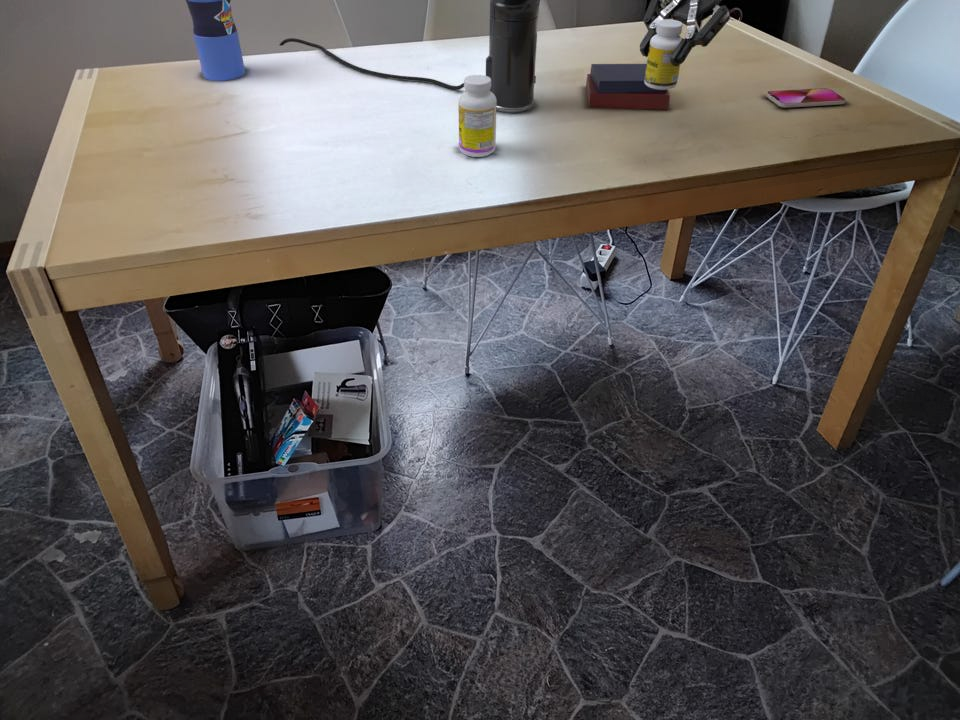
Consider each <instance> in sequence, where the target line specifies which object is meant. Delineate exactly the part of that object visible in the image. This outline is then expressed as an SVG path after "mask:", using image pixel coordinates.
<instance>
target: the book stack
mask: <svg viewBox="0 0 960 720" xmlns="http://www.w3.org/2000/svg"><path fill="white" fill-rule="evenodd" d="M646 66H647V63H591V66H590V73H587V74H586V83H585V84H586V85H585V92H586V98H587V105H588V108H593V109H594V108H595V109H596V108H597V109H600V108H601V109H624V110H625V109H627V110H628V109H629V110H654V111H655V110H656V111H657V110H658V111H660V110H661V111H668V109H669V105H670V98H671V93H670V92H669V89H667V90H658V89H653V88H650V87H648V86H647V85H646V84H645V82H644V80H645V73H646Z"/></svg>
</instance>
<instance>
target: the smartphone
mask: <svg viewBox="0 0 960 720" xmlns="http://www.w3.org/2000/svg"><path fill="white" fill-rule="evenodd" d="M765 97H766V98H768V99H769V100H770V101H772V102H773V103H774V104H776V105H777V107H780V108H802V107H818V106H837V105H844V104H845V103H846V101H847V100H846V99H847V98H845V97H843V96H841V94H838V92H835V91H834V90H833V89H830V88H828V87H827V88H826V87H821V88H803V89H801V88H800V89H785V90H768V91H766V93H765Z"/></svg>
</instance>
